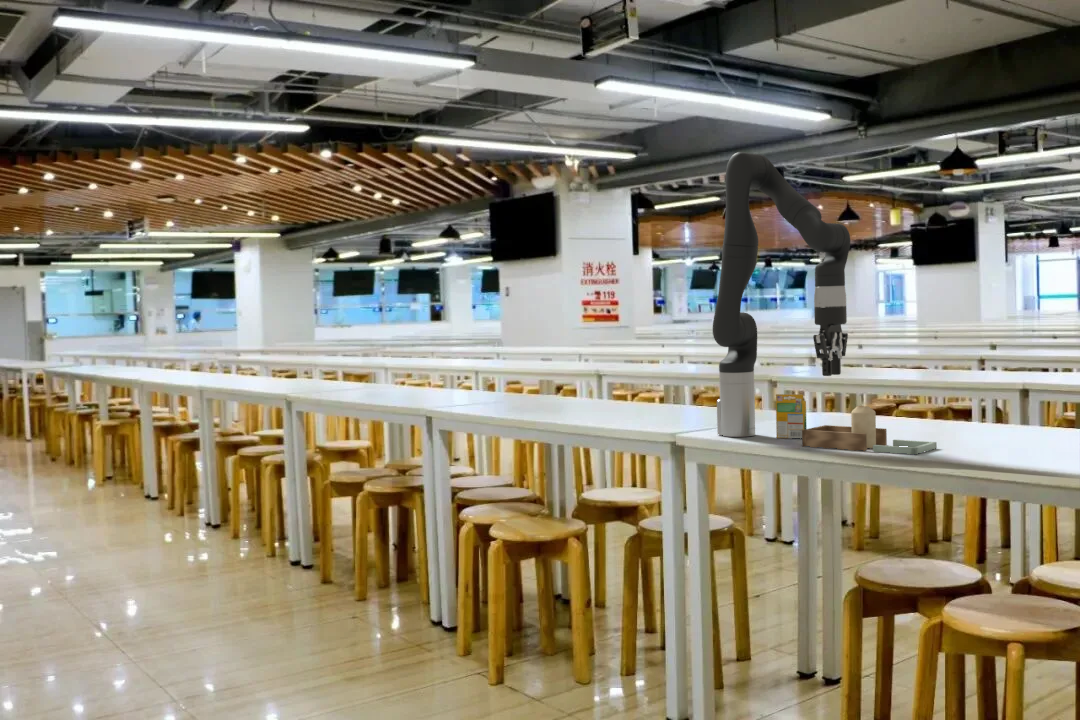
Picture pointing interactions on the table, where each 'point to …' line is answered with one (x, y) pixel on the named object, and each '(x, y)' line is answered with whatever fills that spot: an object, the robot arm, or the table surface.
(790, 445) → the table surface
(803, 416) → the crayon box
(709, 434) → the table surface
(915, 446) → the mint green u-bracket
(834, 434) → the cubby
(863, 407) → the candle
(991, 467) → the table surface
